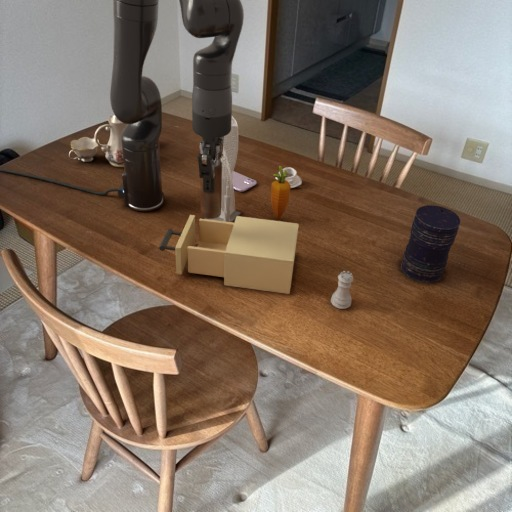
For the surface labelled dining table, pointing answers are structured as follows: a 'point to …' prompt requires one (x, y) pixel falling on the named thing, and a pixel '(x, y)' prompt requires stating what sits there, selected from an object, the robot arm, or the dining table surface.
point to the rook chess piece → (342, 291)
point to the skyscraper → (228, 175)
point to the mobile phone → (242, 182)
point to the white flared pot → (292, 177)
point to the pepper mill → (212, 196)
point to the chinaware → (89, 147)
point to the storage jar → (430, 243)
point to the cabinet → (261, 254)
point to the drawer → (201, 246)
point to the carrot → (280, 194)
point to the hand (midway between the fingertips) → (211, 185)
